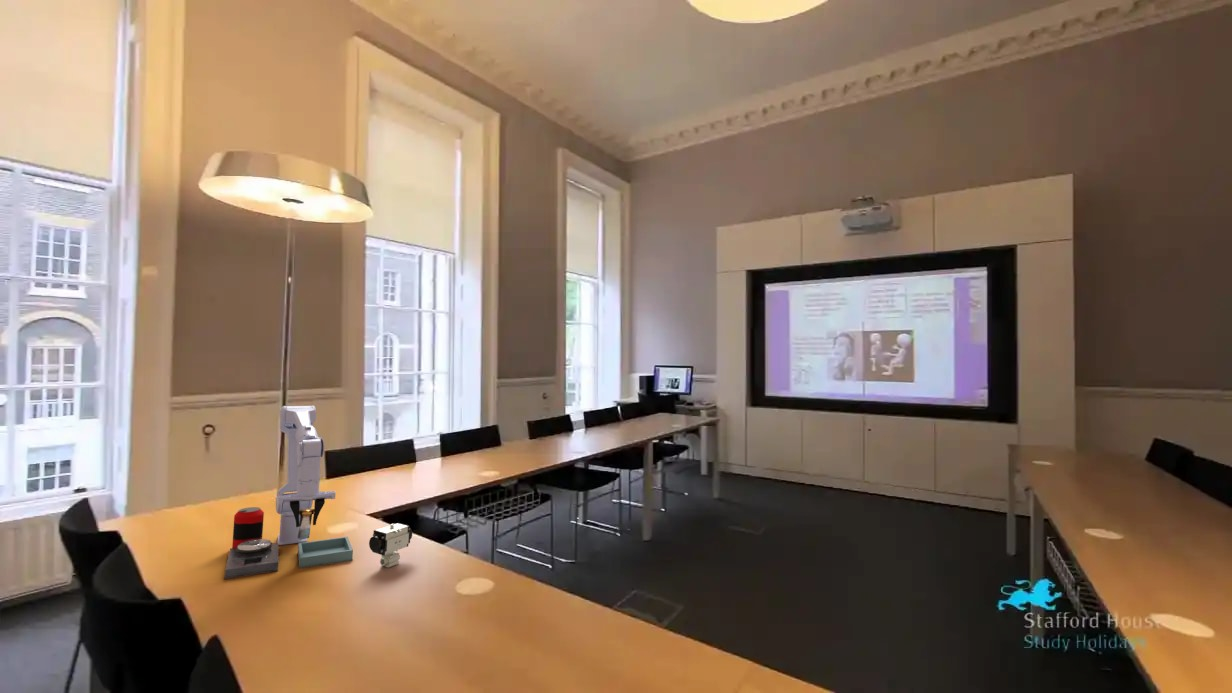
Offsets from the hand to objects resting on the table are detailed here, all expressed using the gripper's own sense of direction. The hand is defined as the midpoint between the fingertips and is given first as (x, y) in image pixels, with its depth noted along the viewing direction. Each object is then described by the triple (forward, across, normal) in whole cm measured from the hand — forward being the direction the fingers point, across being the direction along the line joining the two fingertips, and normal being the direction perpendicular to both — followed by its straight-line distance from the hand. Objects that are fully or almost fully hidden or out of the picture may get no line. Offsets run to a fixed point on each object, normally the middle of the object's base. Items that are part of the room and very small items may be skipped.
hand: (305, 525), depth 154 cm
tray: (+10, +6, +1) cm, 12 cm away
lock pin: (+3, 0, 0) cm, 4 cm away
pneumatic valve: (+11, +22, -15) cm, 28 cm away
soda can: (+11, -15, +18) cm, 26 cm away
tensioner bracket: (+10, -12, +3) cm, 17 cm away
